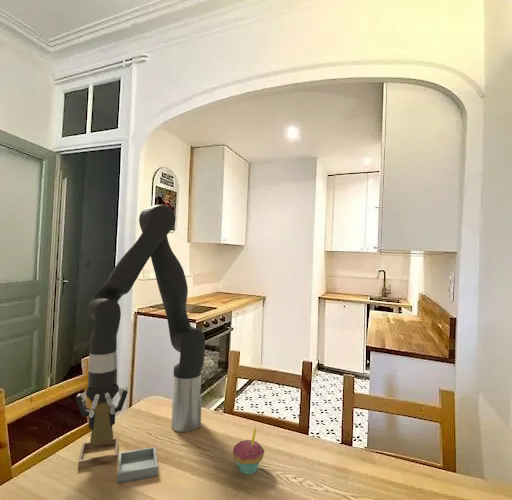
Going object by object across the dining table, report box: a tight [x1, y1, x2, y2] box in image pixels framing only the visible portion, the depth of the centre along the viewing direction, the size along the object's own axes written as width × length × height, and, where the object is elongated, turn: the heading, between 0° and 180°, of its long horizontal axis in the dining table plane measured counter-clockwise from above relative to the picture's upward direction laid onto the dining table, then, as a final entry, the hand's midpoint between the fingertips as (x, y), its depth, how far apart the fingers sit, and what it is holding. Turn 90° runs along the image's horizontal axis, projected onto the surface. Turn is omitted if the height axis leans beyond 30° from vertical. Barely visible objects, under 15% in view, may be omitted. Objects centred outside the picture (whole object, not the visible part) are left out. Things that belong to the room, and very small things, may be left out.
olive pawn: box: [89, 402, 114, 445], centre depth 96 cm, size 6×6×11 cm
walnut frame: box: [77, 437, 119, 470], centre depth 95 cm, size 10×10×2 cm
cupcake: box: [232, 426, 265, 475], centre depth 92 cm, size 9×8×12 cm
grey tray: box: [117, 446, 159, 485], centre depth 90 cm, size 10×10×2 cm
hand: (102, 427), depth 96 cm, fingers closed on olive pawn, 4 cm apart
